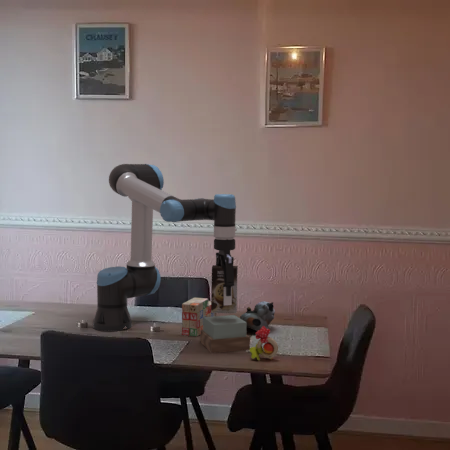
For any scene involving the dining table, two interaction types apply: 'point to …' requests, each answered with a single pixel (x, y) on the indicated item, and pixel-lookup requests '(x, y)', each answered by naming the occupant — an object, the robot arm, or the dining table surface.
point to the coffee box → (222, 291)
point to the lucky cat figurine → (259, 316)
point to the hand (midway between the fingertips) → (224, 302)
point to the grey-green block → (224, 327)
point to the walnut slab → (225, 343)
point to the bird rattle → (268, 348)
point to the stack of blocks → (195, 315)
